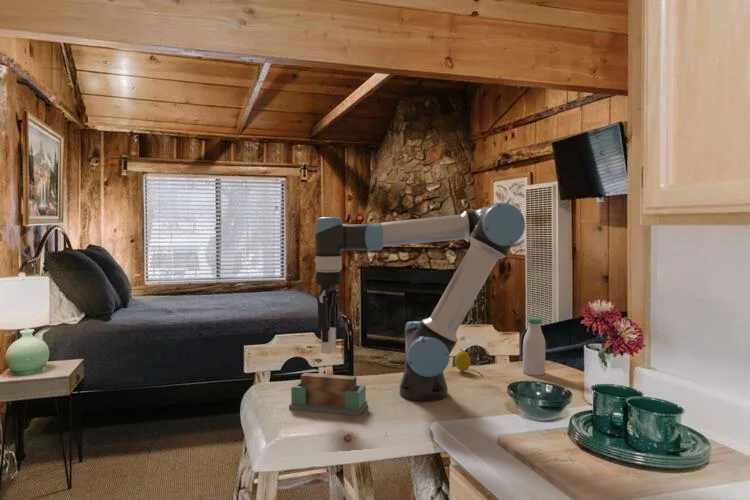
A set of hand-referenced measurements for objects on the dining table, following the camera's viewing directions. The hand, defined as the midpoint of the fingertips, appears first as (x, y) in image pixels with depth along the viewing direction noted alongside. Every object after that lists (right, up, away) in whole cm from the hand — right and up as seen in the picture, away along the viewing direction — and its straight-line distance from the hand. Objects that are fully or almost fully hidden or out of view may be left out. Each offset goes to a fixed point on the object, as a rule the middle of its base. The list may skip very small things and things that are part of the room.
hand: (328, 350), depth 153 cm
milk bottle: (+71, -15, +37) cm, 81 cm away
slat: (0, -15, +1) cm, 15 cm away
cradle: (0, -17, +1) cm, 17 cm away
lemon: (+45, -15, +38) cm, 61 cm away
